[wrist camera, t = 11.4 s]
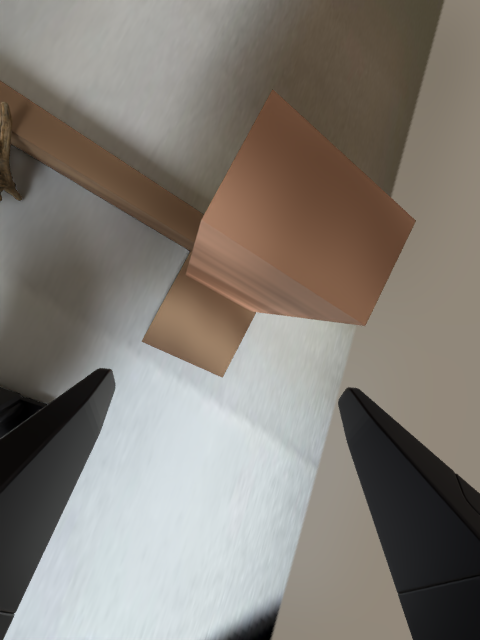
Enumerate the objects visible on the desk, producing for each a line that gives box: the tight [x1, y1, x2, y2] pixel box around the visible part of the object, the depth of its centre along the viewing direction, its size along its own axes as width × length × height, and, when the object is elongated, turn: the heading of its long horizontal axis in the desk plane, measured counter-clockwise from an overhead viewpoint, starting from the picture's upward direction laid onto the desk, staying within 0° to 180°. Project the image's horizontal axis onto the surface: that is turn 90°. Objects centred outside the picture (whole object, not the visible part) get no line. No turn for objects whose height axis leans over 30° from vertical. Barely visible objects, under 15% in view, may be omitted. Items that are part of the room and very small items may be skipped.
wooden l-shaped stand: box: [0, 81, 416, 377], centre depth 10 cm, size 10×24×13 cm, turn 62°
